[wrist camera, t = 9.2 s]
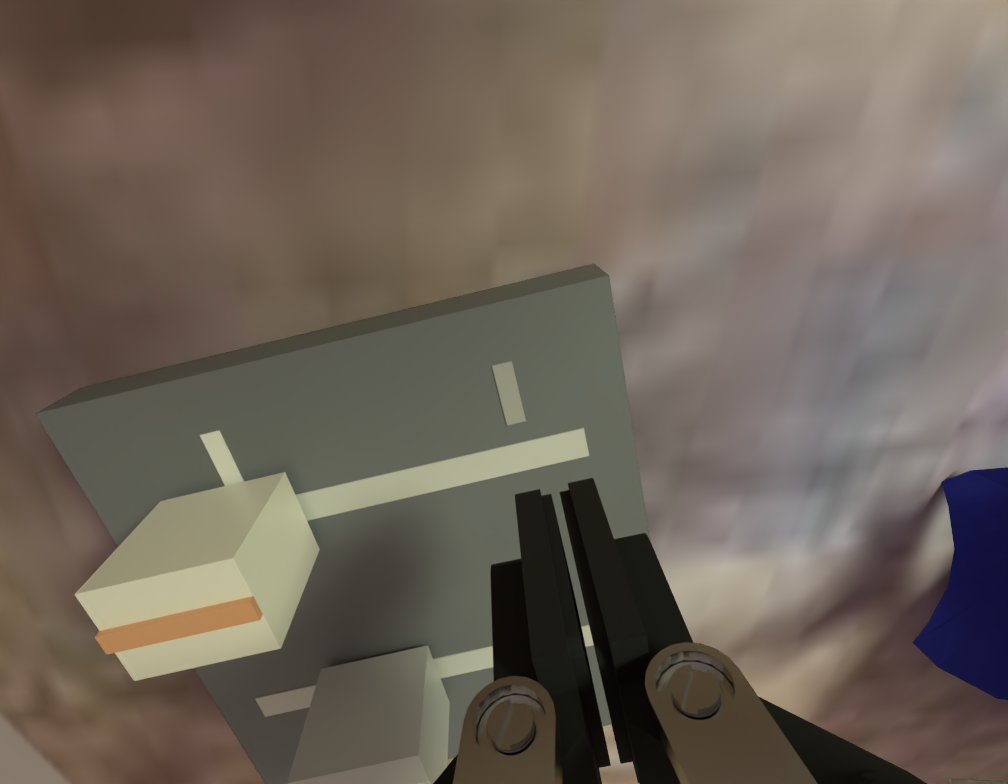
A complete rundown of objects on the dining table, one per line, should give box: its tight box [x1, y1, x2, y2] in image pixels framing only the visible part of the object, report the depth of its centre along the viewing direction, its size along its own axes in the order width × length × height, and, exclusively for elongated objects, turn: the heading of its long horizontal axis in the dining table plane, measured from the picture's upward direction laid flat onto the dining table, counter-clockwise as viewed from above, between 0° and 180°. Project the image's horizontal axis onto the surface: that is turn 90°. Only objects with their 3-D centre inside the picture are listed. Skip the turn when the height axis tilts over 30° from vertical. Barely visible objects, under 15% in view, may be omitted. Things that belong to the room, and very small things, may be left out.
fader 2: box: [287, 645, 450, 784], centre depth 18 cm, size 4×3×4 cm
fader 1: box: [74, 472, 320, 681], centre depth 16 cm, size 4×3×4 cm
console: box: [36, 264, 650, 784], centre depth 20 cm, size 17×18×2 cm
